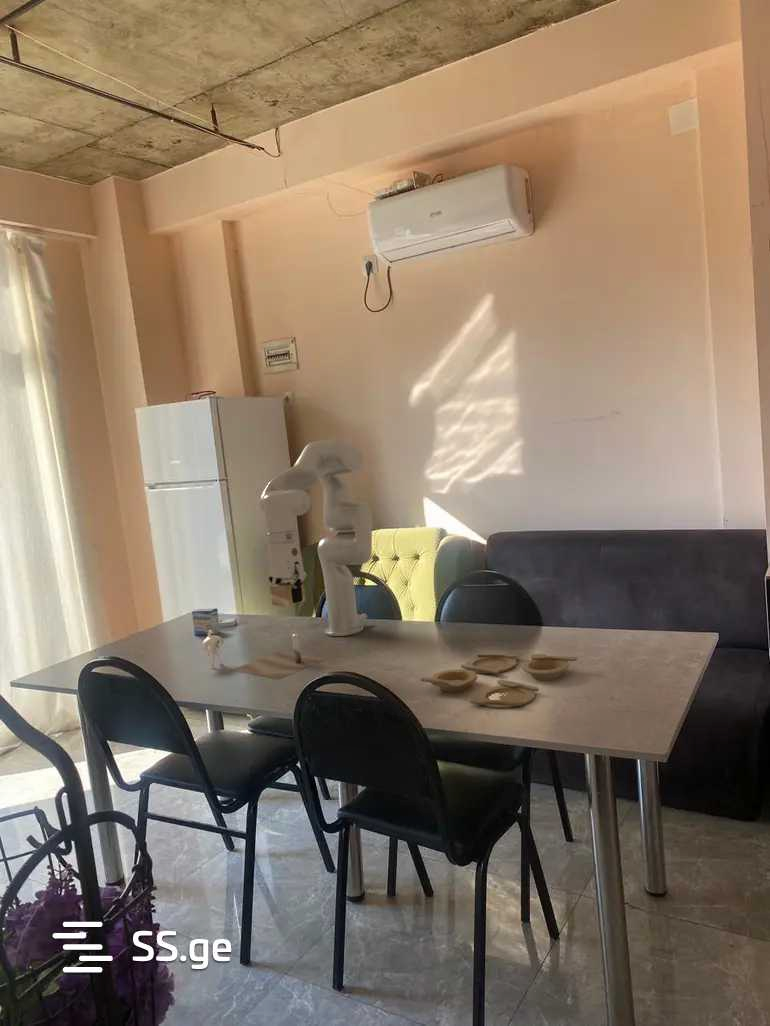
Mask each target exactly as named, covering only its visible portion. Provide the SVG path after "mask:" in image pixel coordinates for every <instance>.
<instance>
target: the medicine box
mask: <svg viewBox="0 0 770 1026" xmlns="http://www.w3.org/2000/svg"><path fill="white" fill-rule="evenodd" d="M191 616H192V625H193V633H194V635H195V636H208V632H209V630H212V631H213V633H214V635H215V636H216V635H218V633H220V632H221V627H220V626H221V625H220V620H219V619H220V618H219V611H218V608H197V609H194V610H192V611H191Z"/></svg>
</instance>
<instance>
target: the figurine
mask: <svg viewBox="0 0 770 1026" xmlns="http://www.w3.org/2000/svg"><path fill="white" fill-rule="evenodd" d="M223 645H224V639H223V638H222V637H220V636H219V635H216V634H215V635H214V633H213V631H212V630H209V632H208V635H207V636H206V638H205V639H204V640H203V642H201V649H202V650H203V651H205V652H207V655H206V657H207V658H208V656H209V659H210V661H209V664H210V665H209V669H213V668H214V661H215V657H216V659H217V661H218V664H219V666H221V665H223V662H222V658H221V653H222V650H220V649H221V647H222V646H223Z"/></svg>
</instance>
